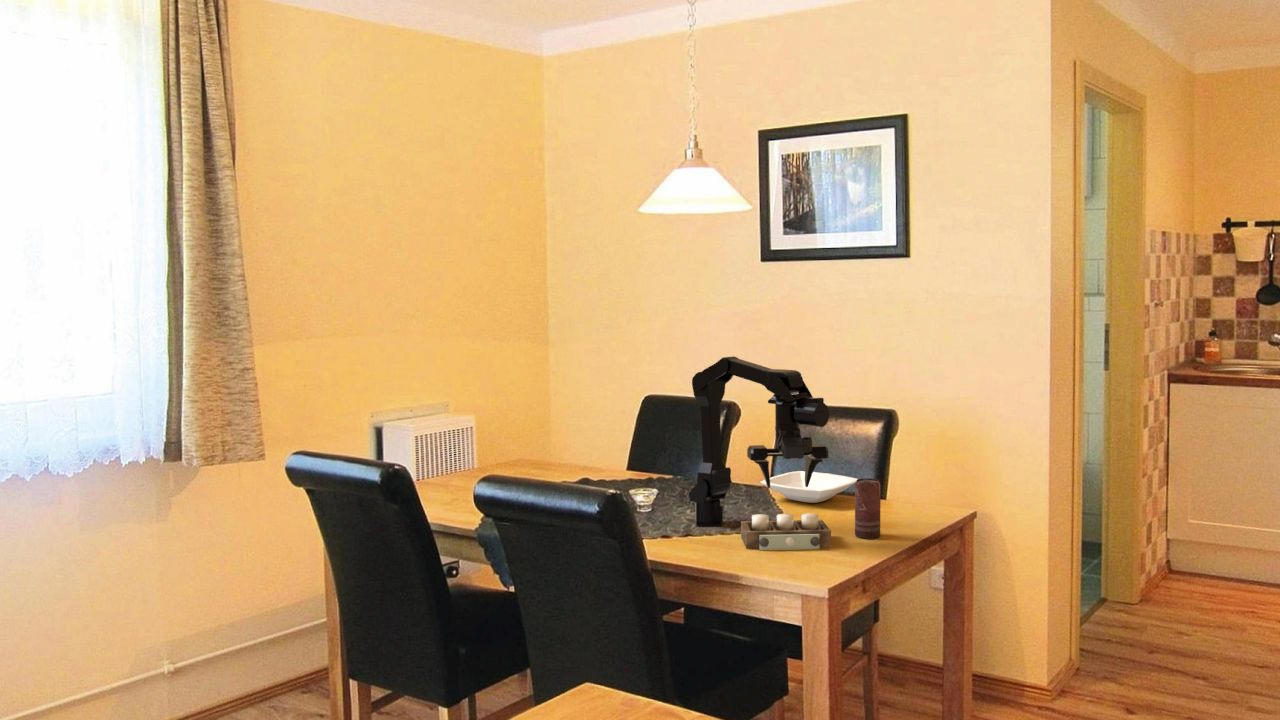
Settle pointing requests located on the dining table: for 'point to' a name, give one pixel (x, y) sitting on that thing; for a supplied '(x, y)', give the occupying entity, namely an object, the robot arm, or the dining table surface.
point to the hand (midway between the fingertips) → (787, 487)
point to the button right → (809, 521)
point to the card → (789, 542)
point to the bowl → (809, 486)
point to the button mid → (785, 521)
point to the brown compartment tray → (783, 533)
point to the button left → (760, 522)
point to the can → (867, 508)
